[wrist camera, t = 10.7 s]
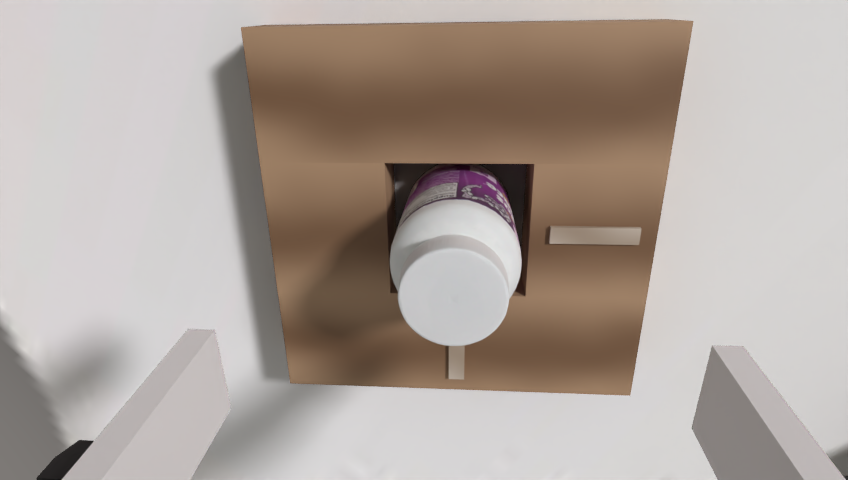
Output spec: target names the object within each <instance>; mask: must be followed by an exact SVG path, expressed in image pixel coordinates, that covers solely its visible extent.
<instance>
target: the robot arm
mask: <svg viewBox="0 0 848 480" xmlns="http://www.w3.org/2000/svg"><path fill="white" fill-rule="evenodd" d="M230 410H231V404H230V399H229V394H228V389H227V385H226V380H225V375H224V370H223V366H222V361H221V356H220V352H219V347H218V342H217V337H216V333H215V330H205V329H188V330H187V331H186V332H185V333H184V334H183V336H182V337H181V338H180V339H179V340H178V342H177V343H176V344H175V345H174V346H173V347H172V349H171V350H170V351H169V352H168V353H167V355H166V356H165V357H164V358H163V359H162V361H161V362H160V363H159V364H158V365H157V367H156V368H155V369H154V370H153V371H152V373H151V374H150V375H149V376H148V377H147V379H146V380H145V381H144V382H143V383H142V384H141V386H140V387H139V388H138V389H137V390H136V392H135V393H134V394H133V395H132V396H131V398H130V399H129V400H128V401H127V402H126V404H125V405H124V406H123V407H122V408H121V410H120V411H119V412H118V413H117V414H116V416H115V417H114V418H113V419H112V420H111V421H110V423H109V424H108V425H107V426H106V427H105V429H104V430H103V431H102V432H101V433H100V435H99V436H98V437H97V438H96V439H95V441H86V440H79V441H77V442H76V443H75V444H73V445H72V446H70V447H69V448H68V449H66V450H65V451H63V452H62V453H61V454H59V455H58V456H56V457H55V458H54V459H53V460H52V461H51V462H50V464H49V465H48V466H47V467H46V468H45V469H44V470H43V471H42V473H41V474H40V475H39V476H38V477H37V480H191V478H192V476H193V474H194V473H195V471H196V469H197V467H198V466H199V464H200V462H201V460H202V459H203V457H204V455H205V454H206V452H207V450H208V448H209V447H210V445H211V443H212V441H213V440H214V438H215V436H216V434H217V433H218V431H219V429H220V427H221V426H222V424H223V422H224V420H225V419H226V417H227V415H228V413H229V412H230ZM692 430H693V432H694V434H695V436H696V438H697V440H698V441H699V443H700V445H701V447H702V449H703V451H704V453H705V455H706V457H707V459H708V461H709V463H710V465H711V467H712V469H713V471H714V473H715V475H716V477H717V479H718V480H848V476H843V475H842V474H841V473H840V471H839V470H838V469H837V467H836V466H835V465H834V464H833V462H832V461H831V460H830V458H829V457H828V456H827V454H826V453H825V452H824V451H823V449H822V448H821V447H820V445H819V444H818V443H817V441H816V440H815V439H814V438H813V436H812V435H811V434H810V432H809V431H808V430H807V428H806V427H805V426H804V425H803V423H802V422H801V421H800V419H799V418H798V417H797V415H796V414H795V413H794V412H793V410H792V409H791V408H790V406H789V405H788V404H787V402H786V401H785V400H784V399H783V397H782V396H781V395H780V393H779V392H778V391H777V389H776V388H775V387H774V386H773V384H772V383H771V382H770V380H769V379H768V378H767V376H766V375H765V374H764V373H763V371H762V370H761V369H760V367H759V366H758V365H757V363H756V362H755V361H754V359H753V358H752V357H751V356H750V354H749V353H748V352H747V350H746V349H745V348H744V346H716V345H712V348H711V352H710V356H709V360H708V364H707V368H706V372H705V376H704V380H703V384H702V388H701V392H700V396H699V400H698V404H697V408H696V412H695V417H694V421H693V425H692Z"/></svg>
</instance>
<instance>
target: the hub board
mask: <svg viewBox="0 0 848 480" xmlns="http://www.w3.org/2000/svg"><path fill="white" fill-rule="evenodd" d="M692 26H693V21H684V20H669V19H658V20H588V21H518V22H448V23H378V24H308V25H262V26H251V27H241V31H242V39H243V46H244V53H245V60H246V67H247V75H248V82H249V89H250V96H251V103H252V111H253V118H254V125H255V132H256V139H257V147H258V154H259V161H260V168H261V175H262V183H263V190H264V197H265V204H266V211H267V219H268V226H269V233H270V240H271V247H272V255H273V262H274V269H275V276H276V283H277V291H278V298H279V305H280V312H281V319H282V327H283V334H284V341H285V348H286V355H287V363H288V370H289V377H290V383H298V384H326V385H354V386H381V387H409V388H437V389H465V390H493V391H521V392H548V393H576V394H604V395H630V393H631V387H632V381H633V375H634V370H635V364H636V358H637V352H638V346H639V340H640V334H641V328H642V322H643V316H644V310H645V304H646V298H647V293H648V287H649V281H650V275H651V269H652V263H653V257H654V251H655V245H656V239H657V233H658V227H659V221H660V216H661V210H662V204H663V198H664V192H665V186H666V180H667V174H668V168H669V162H670V156H671V150H672V144H673V139H674V133H675V127H676V121H677V115H678V109H679V103H680V97H681V91H682V85H683V79H684V73H685V67H686V62H687V56H688V50H689V44H690V38H691V32H692ZM394 163H457V164H526V180H525V196H524V213H523V229H522V245H521V258H522V266H521V274H520V279H519V282H518V284H517V287H516V289H515V291H514V293H513V295H512V296H511V298H510V299H509V305H508V309H507V313H506V315H505V317H504V319H503V321H502V323H501V324H500V325H499V327H498V328H497V329H496V330H495V331H494V332H493V333H491V334H490V335H489V336H488V337H486V338H484V339H482V340H481V341H478V342H475V343H472V344H469V345H463V346H446V345H440V344H437V343H434V342H431V341H429V340H427V339H425V338H423V337H422V336H420V335H419V334H417V333H416V332H415V331H414V330H413V329H412V328H411V327H410V326H409V325H408V324H407V322H406V321H405V319H404V318H403V315H402V313H401V311H400V307H399V303H398V291H397V289H396V287H395V285H394V282H393V279H392V275H391V270H390V253H391V246H392V243H393V240H394V237H395V234H396V213H395V187H394Z"/></svg>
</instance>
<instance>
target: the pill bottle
mask: <svg viewBox="0 0 848 480" xmlns="http://www.w3.org/2000/svg"><path fill="white" fill-rule="evenodd" d="M521 266H522V258H521V249H520V245H519V240H518V236H517V231H516V227H515V223H514V218H513V214H512V210H511V205H510V201H509V197H508V194H507V192H506V189H505V188H504V186H503V184H502V183H501V181H500V180H499V179H498V178H497V177H496V176H495V175H494V174H493V173H492V172H490V171H489V170H487V169H486V168H485V167H482V166H480V165H477V164H457V163H442V164H439V165H437V166H435V167H433V168H431V169H430V170H428V171H427V172H425V173H424V174H423V175H422V176H421V177H420V178H419V179H418V180H417V182H416V183H415V184H414V186H413V188H412V190H411V192H410V194H409V197H408V199H407V202H406V205H405V208H404V211H403V214H402V217H401V220H400V222H399V225H398V228H397V231H396V234H395V237H394V240H393V243H392V246H391V253H390V270H391V275H392V279H393V282H394V285H395V287H396V289H397V291H398V303H399V307H400V311H401V313H402V315H403V318H404V319H405V321H406V322H407V324H408V325H409V326H410V327H411V328H412V329H413V330H414V331H415V332H416V333H417V334H419V335H420V336H422V337H423V338H425V339H427V340H429V341H431V342H434V343H437V344H440V345H446V346H463V345H469V344H472V343H475V342H478V341H481V340H482V339H484V338H486V337H488V336H489V335H490V334H491V333H493V332H494V331H495V330H496V329H497V328H498V327H499V325H500V324H501V323H502V321H503V319H504V317H505V315H506V313H507V309H508V305H509V299H510V298H511V296H512V295H513V293H514V291H515V289H516V287H517V284H518V282H519V279H520V274H521Z"/></svg>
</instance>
